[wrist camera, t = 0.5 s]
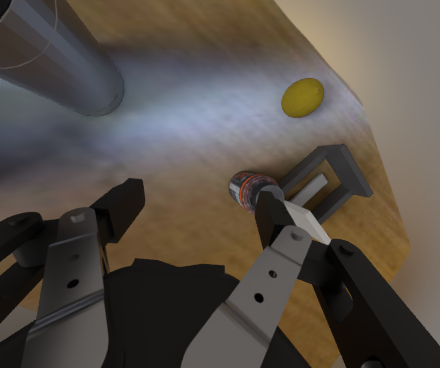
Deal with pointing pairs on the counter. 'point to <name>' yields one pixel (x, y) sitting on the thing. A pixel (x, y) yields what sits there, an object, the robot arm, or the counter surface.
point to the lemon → (302, 97)
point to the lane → (344, 170)
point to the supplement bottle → (252, 188)
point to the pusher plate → (304, 216)
